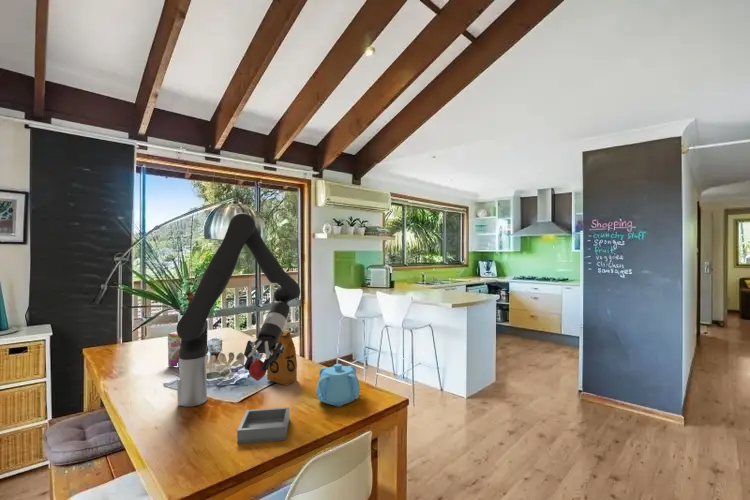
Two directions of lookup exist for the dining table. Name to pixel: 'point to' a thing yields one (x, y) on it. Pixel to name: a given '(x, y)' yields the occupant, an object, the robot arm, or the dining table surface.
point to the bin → (264, 425)
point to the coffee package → (284, 362)
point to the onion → (256, 369)
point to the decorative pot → (338, 385)
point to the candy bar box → (173, 348)
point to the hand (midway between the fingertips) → (254, 369)
